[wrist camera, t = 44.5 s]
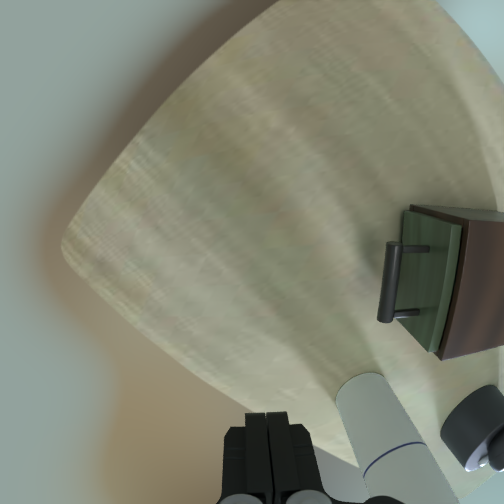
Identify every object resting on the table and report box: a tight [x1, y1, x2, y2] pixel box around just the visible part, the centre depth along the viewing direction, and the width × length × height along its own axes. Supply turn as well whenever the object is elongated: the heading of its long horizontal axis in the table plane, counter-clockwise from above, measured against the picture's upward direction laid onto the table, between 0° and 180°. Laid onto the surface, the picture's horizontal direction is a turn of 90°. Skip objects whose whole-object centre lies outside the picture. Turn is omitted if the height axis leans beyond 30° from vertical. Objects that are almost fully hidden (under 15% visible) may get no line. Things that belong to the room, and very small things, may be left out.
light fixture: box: [441, 385, 504, 472], centre depth 31 cm, size 13×16×14 cm
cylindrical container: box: [336, 373, 460, 504], centre depth 23 cm, size 7×7×25 cm
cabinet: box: [410, 204, 504, 361], centre depth 26 cm, size 15×13×10 cm
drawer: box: [377, 211, 463, 352], centre depth 26 cm, size 18×11×8 cm, turn 90°
